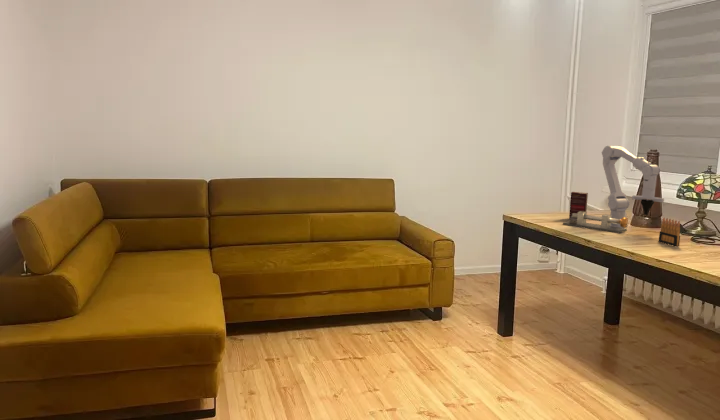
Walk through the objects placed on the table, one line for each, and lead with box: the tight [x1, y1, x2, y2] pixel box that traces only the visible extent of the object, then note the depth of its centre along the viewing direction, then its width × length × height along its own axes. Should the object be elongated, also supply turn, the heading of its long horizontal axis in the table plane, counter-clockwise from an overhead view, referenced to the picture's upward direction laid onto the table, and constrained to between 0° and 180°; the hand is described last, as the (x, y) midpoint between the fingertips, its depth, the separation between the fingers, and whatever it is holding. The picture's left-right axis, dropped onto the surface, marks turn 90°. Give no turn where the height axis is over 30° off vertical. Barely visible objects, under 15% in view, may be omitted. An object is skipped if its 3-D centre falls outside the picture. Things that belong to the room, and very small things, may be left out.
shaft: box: [572, 213, 629, 228], centre depth 293 cm, size 5×28×5 cm, turn 46°
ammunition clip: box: [658, 217, 681, 247], centre depth 258 cm, size 11×2×12 cm, turn 15°
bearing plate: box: [562, 211, 628, 234], centre depth 295 cm, size 10×30×8 cm, turn 46°
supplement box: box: [568, 191, 589, 221], centre depth 317 cm, size 9×5×16 cm, turn 58°
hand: (646, 214), depth 283 cm, fingers closed
